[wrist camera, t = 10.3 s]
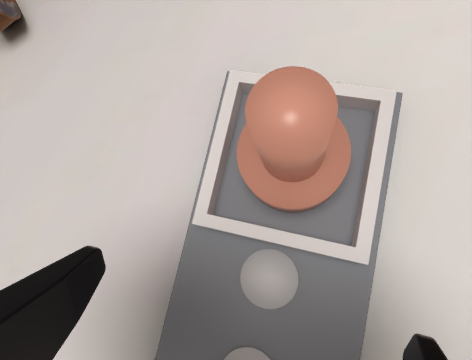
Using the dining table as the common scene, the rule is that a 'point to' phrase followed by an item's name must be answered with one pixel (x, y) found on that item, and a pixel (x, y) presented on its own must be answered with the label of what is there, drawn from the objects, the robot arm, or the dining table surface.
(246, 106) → the pink flanged peg
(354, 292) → the station board
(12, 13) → the tin
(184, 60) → the dining table surface
